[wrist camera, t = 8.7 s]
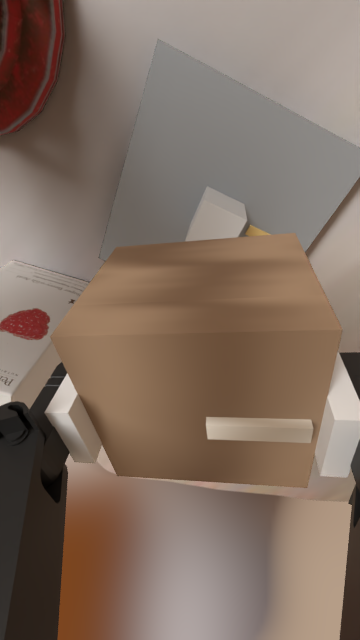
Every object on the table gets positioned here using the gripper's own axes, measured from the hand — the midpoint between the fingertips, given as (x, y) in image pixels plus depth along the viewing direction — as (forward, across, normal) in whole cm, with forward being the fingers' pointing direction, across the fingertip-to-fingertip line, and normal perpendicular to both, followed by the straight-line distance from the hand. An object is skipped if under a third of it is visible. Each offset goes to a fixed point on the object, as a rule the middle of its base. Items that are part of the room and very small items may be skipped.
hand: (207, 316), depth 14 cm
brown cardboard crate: (0, 0, 0) cm, 0 cm away
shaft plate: (+14, 0, +1) cm, 15 cm away
